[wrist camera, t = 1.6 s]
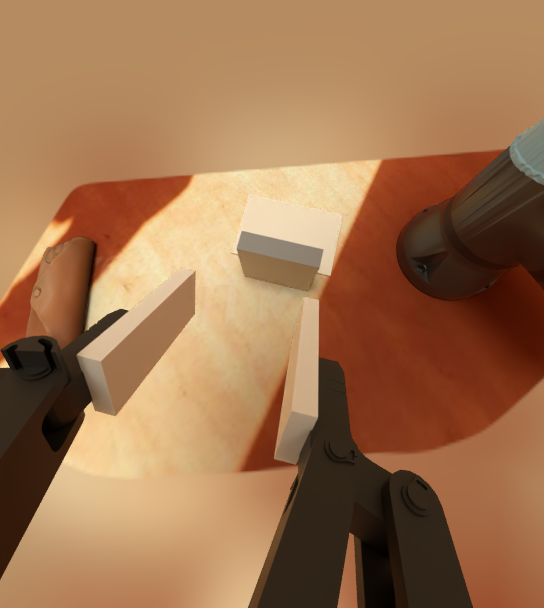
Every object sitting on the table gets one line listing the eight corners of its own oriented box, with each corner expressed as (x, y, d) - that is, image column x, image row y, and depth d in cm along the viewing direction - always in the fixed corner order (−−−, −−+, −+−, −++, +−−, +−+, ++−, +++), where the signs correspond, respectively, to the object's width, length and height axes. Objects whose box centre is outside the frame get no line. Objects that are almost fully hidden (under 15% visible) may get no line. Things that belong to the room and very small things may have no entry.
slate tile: (310, 275, 39) (323, 247, 30) (307, 291, 39) (319, 267, 29) (249, 261, 40) (242, 229, 30) (244, 276, 39) (236, 248, 30)
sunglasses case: (43, 244, 40) (32, 224, 35) (96, 252, 44) (94, 235, 38) (23, 359, 36) (7, 358, 31) (84, 358, 40) (79, 356, 34)
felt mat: (342, 215, 42) (342, 214, 41) (330, 276, 39) (330, 275, 39) (249, 194, 42) (249, 193, 42) (231, 253, 40) (231, 252, 40)
